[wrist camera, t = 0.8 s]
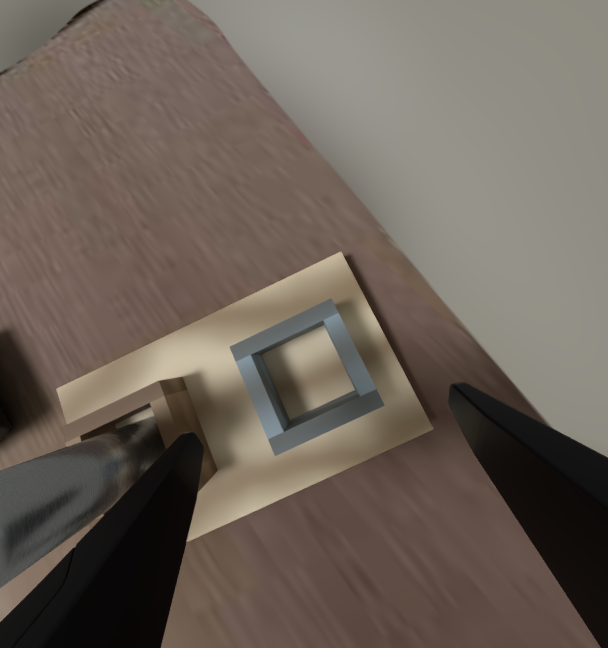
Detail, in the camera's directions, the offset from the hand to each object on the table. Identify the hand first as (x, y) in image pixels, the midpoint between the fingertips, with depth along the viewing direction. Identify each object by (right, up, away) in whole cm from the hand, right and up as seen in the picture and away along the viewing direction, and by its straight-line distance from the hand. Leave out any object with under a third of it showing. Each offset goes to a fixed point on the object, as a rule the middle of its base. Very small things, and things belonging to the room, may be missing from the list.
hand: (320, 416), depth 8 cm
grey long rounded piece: (-13, -7, +12) cm, 19 cm away
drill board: (-7, -4, +13) cm, 15 cm away
